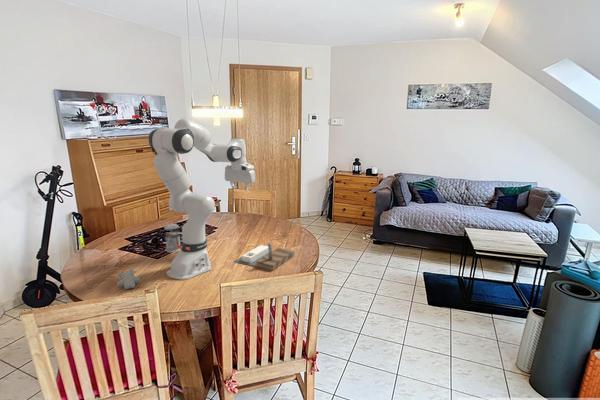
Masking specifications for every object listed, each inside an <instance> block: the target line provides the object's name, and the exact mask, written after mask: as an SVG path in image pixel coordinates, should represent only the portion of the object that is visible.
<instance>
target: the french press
mask: <svg viewBox="0 0 600 400" xmlns="http://www.w3.org/2000/svg"><path fill="white" fill-rule="evenodd" d="M168 211H173V210H172V209H171V208H170V207H168ZM171 215H172V214H171V213H169V216H170V219H172V217H171ZM179 227H180V226H179V224H176V223H169V224H166V225H164V227H163V228H164V230H168V231H169V232H166V233H165V239H164V240H165V245H166V247H165V249H164V251H165V252H166V251H167V252H166V253H177V252H180V251H181V249H179V248H177V245H178V244H179V245H181V241H182V239H181V235H182V233H181V232H180V230H179V229H178V228H179ZM176 229H177V230H176ZM174 230H175V231H174Z"/></svg>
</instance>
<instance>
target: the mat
mask: <svg viewBox="0 0 600 400" xmlns="http://www.w3.org/2000/svg"><path fill="white" fill-rule="evenodd" d="M273 251H274V250H272V252H273ZM267 255H268V253H267V254H265V255H264V256H262V257H260V258H259V259H257V260H255V261H254V262H252V263H249V262H244V261H242V256H241V257H239V258H238V259H236V260H234V263H238V264H242V265H246V266H251V267H257V261H258V260H260V259H262V258H263V257H265V256H267Z"/></svg>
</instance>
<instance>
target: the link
mask: <svg viewBox="0 0 600 400" xmlns="http://www.w3.org/2000/svg"><path fill="white" fill-rule="evenodd" d="M267 253H268V245H262V244H260V245H258V246H257V247H255V248H253V249H251V250H250V251H248V252H246V253H244V254H242V255H241V257H242V261H244V262H249V263H252V262H254V261H255V260H257V259H259V258H260V257H262V256H264V255H265V254H267Z"/></svg>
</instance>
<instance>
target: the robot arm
mask: <svg viewBox="0 0 600 400" xmlns="http://www.w3.org/2000/svg"><path fill="white" fill-rule="evenodd" d="M211 141H212V135H211V131H209V129H207V128H206V127H205V126H204V125H201V124H200V123H198V122H196V121H194V120H192V119H189V118H181V119H179V120H178V121H176V123H175V125H174V128H170V127H166V128H161V127H160V128H155V129H154V130H151V131H150V133H149V134H148V144H149V147H150V149H151V152H152V154H154V155H155V156H154V158H153V160H152V161H153V166H154V168H155V170H156V173H157V175H158V177H159V178H160V179H161V181H162V183H163V185H164V186H165V187H166V189H167V190H168V192H169V194H170V195H169V198H168V206H169V207H168V208H171V209H172V210H171V211H174V212H176V213H179V214H184V215H188V220H187V221H186V223H184V224H183V225H182V227H181V232H182V233H181V236H182V243H181V244H180V245H179V244H178V243H177V244H178V245H177V248H179V249H181V250H180V251H178V254H177V255H176V256H175V257H174V258H173V260H171V263H170V264H171V265H170V269H169V270H167V271H166V276H167V277H169V278H172V279H175V280H179V281H180V280H182V281H184V280H189V279H191V278H194V277H197V276H199V275H202V274H203V273H206V272H208V271H211V270H212V267H211V266H212V264H211V261H210V259H209V253H208V250H207V249H208V248H207V247H208V242H207V238H206V223H207V220H208V219H209V216H211V215H212V214H213V212H214V211H215V208H216V202H215V199H214V198H213V197H211V196H210V195H207V194H204V193H197V192H192V191H191V190H190V187H191V185H192V184H191V183H192V180H191V178H190V176H189V175H188V173H187V170H185V168H184V166H183V165H182V163H181V162H180V160H179V156H178V155H179V154H180V155H183V154H189V153H190V152H191V151H192V150H193V147H194V148H195V149H196V150H198V151H199V152H201V153H203V154H204V155H206V156H207V158H208V159H209V160H210V162H213V163H230V165H229V164H228V165H226V166H225V168H224V180H225V182H229V183H230V185H231V189H232V190H235V189H236V188H237V186H236V185H235V183H244V184H245V185H246V186H245V187H244V191H249V187H250V185H251V184H254V183H256V171H255V170H254V169H255V166H254V165H253V164H251V163H249V162H247V147H246V141H245V140H244V138H241V137H231V138H230V141H229V142H228V143H227V144H220V143H219V144H218V143H211Z"/></svg>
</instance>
